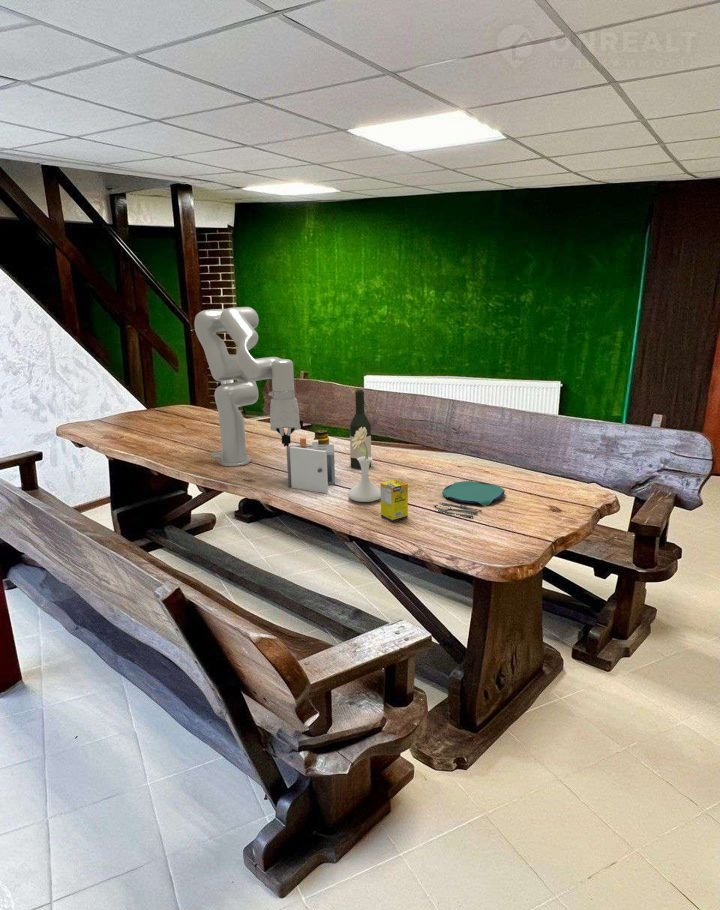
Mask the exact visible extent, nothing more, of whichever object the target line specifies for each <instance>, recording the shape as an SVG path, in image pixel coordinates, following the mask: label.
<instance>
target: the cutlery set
mask: <svg viewBox="0 0 720 910" xmlns="http://www.w3.org/2000/svg"><path fill="white" fill-rule="evenodd" d="M505 492H506V490H505V489H503V488H502V486H500V485H497V484H494V483H493V484H491V483H487V482H481V481H474V480H473V481H472V480H463V481H457V482H453V483H452V484H450V485H448V486H445V488H444V489H442V492H441V494H442V495H443V497H444V498H445V499H446V500H447V499H450V500H452V501H456V502H459V503H465V504H480V506H483V505H488V506H489V505H491V503H492V502H495V501H498V500H500V499H502V498H503V497H504V496H505ZM446 497H448V498H446ZM439 503H442V504H441V505H443V504H447V505H443V506H448V507H450V509H453V510H452V511H456V510H458V511H457V512H463V513H455V512H452V511H449V510H440V509H441V508H440V507H435V506H438V505H439ZM449 505H453V506H449ZM454 506H457V507H456V508H452V507H454ZM433 507H435V509H437V508H439V509H437V510H438V511H437V512H441V513H443V512H445V513H447V514H448V513H450V514H449V515H451V514H456V515H460V516H466V517H465V518H467V517H472V518H473V519H474V515H478V513H479V512H481V511H482V512H483V509H477V508H473V507H468V506H466V505H462V504H460V505H458V504H454V503H447V502H442V501H441V502H440V501H439V502H438V504H434V505H433ZM459 507H462V508H459ZM457 508H459V509H457ZM463 508H467V509H463ZM473 509H474V510H473ZM477 510H479V511H477ZM437 512H436V513H437ZM441 513H440V514H441ZM445 513H443V514H445ZM464 513H469V514H464ZM472 513H473V514H474V515H473V514H472ZM460 516H459V517H460Z"/></svg>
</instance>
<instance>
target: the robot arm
mask: <svg viewBox="0 0 720 910" xmlns="http://www.w3.org/2000/svg"><path fill="white" fill-rule="evenodd" d="M259 322H260V319H259V315H258V313H257V311H256V310H255V309H253V308H252V307H250V306H239V307H238V306H237V307H235V306H233V307H228V308H217V309H216V308H215V309H214V308H213V309H212V308H211V309H204V310H202V311H200V312H198V313H197V314H196V315H195V317H194V331H195V334H196V337H197V339H198V341H199V342H200V344H201V347H202V349H203V350H204V354H205V358H206V361H207V364H208V366H209V368H208V369H209V370H210V371H209V372H210V373H211V377H212V378H213V379H214V380H215V381H216V382H227V381H234V380H236V382H228V383H223V384H221V385H219V386H218V387H216V389H215V391H214V393H213V394H214V400H215V403H216V409H217V412H218V413H217V414H218V423H219V434H220V435H219V436H220V445H221V451H219V452H211V453H210V455H211V456H210V457H211V458H213V459H219V460H218V465H220V466H223V467H239V466H240V465H241V466H244V465H247V464H250V463H251V460H252V459H251V457H250V456H248V455H247V442H246V429H245V427H246V426H245V419H244V416H243V414H242V412H241V410H240V409H239V408H240V407H244V406H250V405H254V404H255V403H257V402H258V399H259V396H260V395H259V387H258V385H257V381H263V380H271V383H272V384H271V385H272V386H271V388H272V391H269V392H268V396H270V397H272V398H271V399H270V406H269V407H270V408H269V424H270V427H269V429H270V431H275V432H277V433H278V434H279V435H280V436H281V444H282V445H283V447H287V446H290V445H291V442H292V441H291V435H292V434H293V433H294V432H295V431H298V430H301V424H300V422H301V421H300V409H299V403H298V399H297V398H296V397H295V395H296V394H295V393H296V392H295V378H294V377H295V376H294V362H293V361H292V360H291V359H287V358H280V357H277V356H268V357H260V358H254V357H253V356H252V355H251V354H250V352H249V351H250V350H251V349H253V348H254V347H255V346H256V345H257V344H258V341H259V334H258V332H257V331H256V330H255V329H256V328H257V327H258V325H259ZM219 332H220V333H222V332H226V333H227V335H229V337H230V338H231V339H232V340H233V342H234V344H236V346H237V348H236V354H233V355H230V353H229V352H228V348H227V345H226V342H225V341H224V340H223V339H222V338H221V337H220V336H219V335H218V334H217V333H219ZM285 429H287V432H285ZM249 462H250V463H249Z"/></svg>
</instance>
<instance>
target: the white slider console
mask: <svg viewBox="0 0 720 910" xmlns="http://www.w3.org/2000/svg"><path fill="white" fill-rule="evenodd" d="M289 446H290V447H299V448H306V449H312V444H306V447H300V444H299V445H295V444H294V445H289ZM314 450H322V451H327V477H328V486H335V485H336V484H335V483H336V469H335V465H336V464H335V444H329V445H318V449H314Z"/></svg>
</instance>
